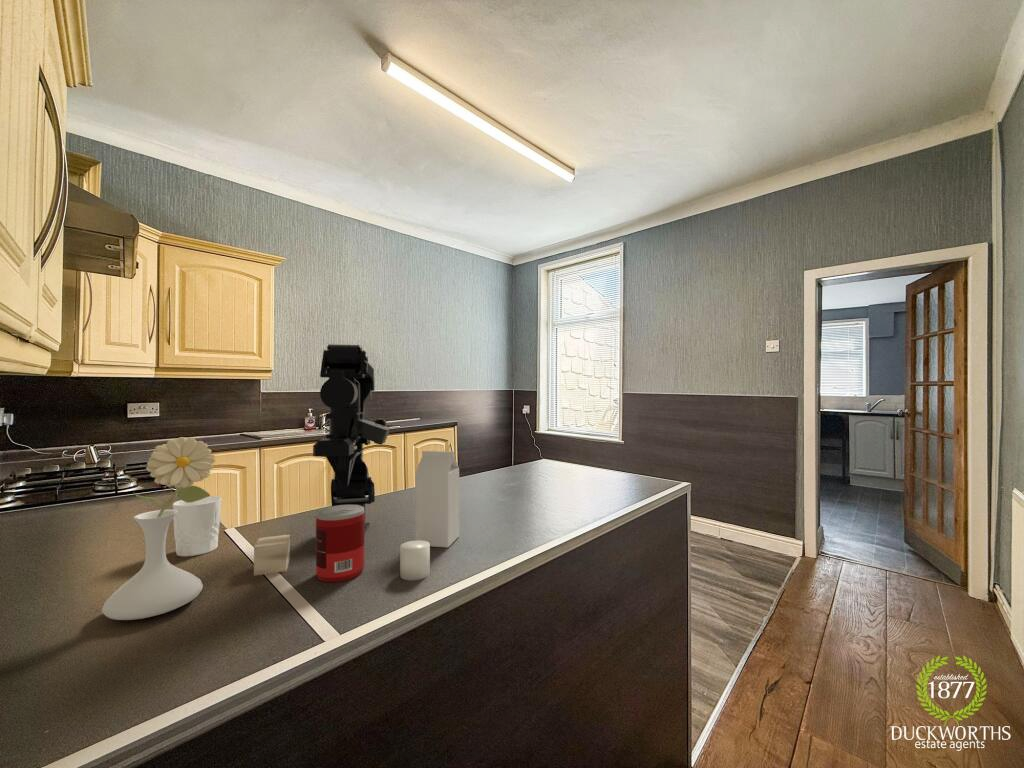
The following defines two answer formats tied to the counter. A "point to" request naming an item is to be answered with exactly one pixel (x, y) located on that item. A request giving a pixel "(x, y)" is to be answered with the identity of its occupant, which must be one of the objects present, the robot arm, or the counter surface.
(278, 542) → the birch block
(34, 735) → the counter surface
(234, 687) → the counter surface
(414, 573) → the off-white smooth rounded part
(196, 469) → the flower in vase
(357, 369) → the robot arm
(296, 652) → the counter surface
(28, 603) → the counter surface
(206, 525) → the white cup
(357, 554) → the canned food
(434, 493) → the milk carton
